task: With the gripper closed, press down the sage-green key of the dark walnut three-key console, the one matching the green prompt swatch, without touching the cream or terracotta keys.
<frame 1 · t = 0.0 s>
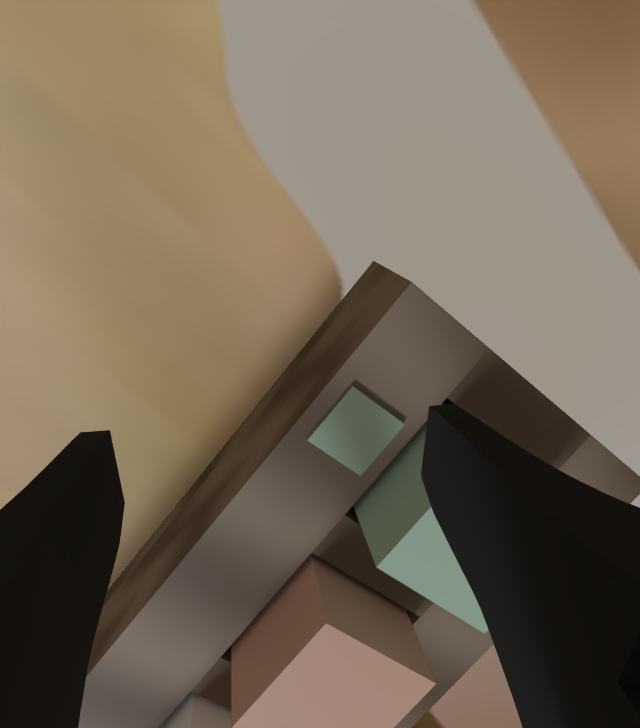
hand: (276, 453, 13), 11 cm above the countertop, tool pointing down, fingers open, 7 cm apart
key green: (460, 511, 19), point 6 cm above the countertop, slide at 0.0 cm
key terracotta: (326, 657, 21), point 6 cm above the countertop, slide at 0.0 cm
console: (305, 555, 26), on the countertop
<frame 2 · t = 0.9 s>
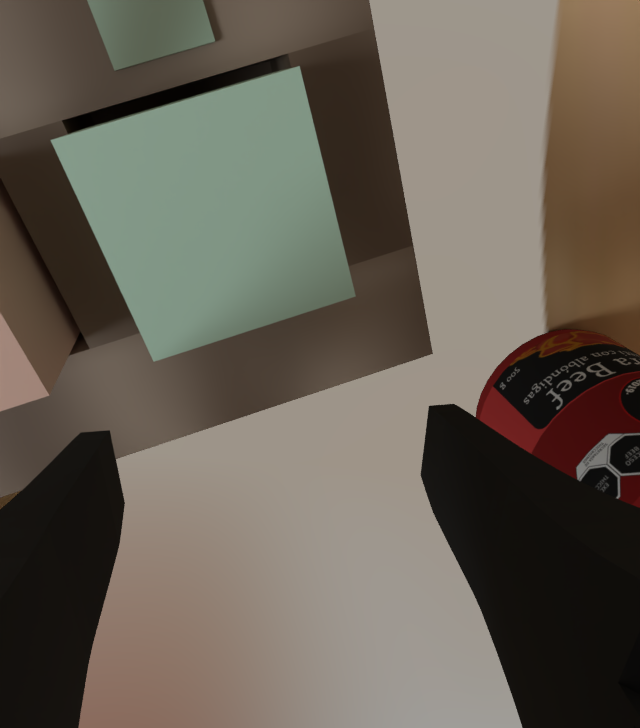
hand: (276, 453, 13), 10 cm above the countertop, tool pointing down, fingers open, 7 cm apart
key green: (217, 209, 14), point 6 cm above the countertop, slide at 0.0 cm
canned food: (543, 399, 26), on the countertop
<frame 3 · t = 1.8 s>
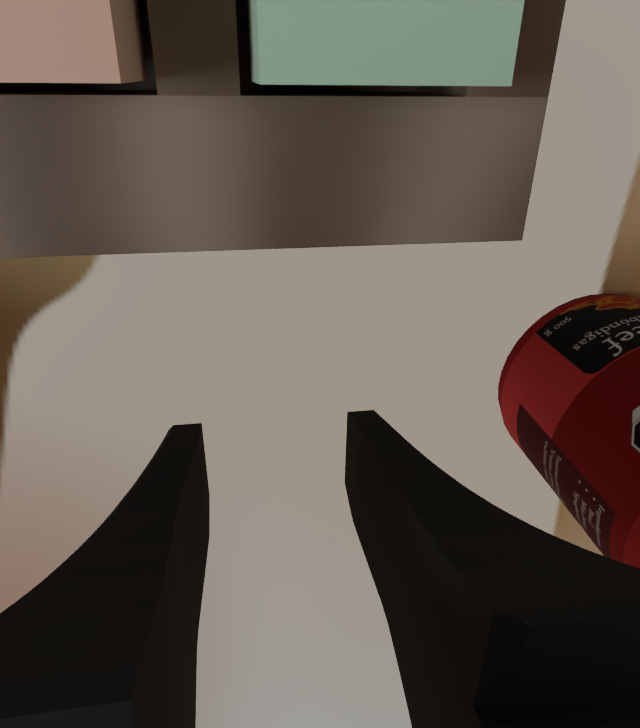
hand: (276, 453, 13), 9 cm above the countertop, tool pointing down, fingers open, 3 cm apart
canned food: (572, 369, 25), on the countertop
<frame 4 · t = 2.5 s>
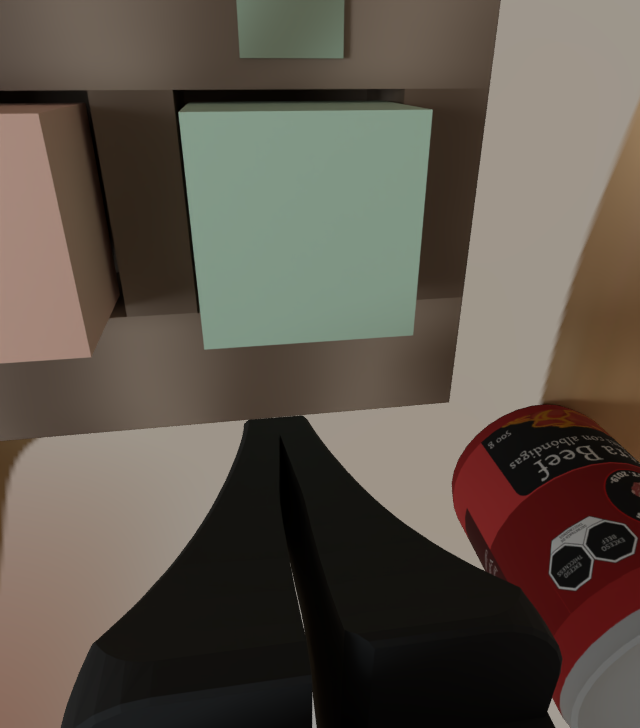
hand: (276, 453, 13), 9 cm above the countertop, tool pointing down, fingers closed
key green: (299, 216, 14), point 6 cm above the countertop, slide at 0.0 cm
canned food: (520, 465, 27), on the countertop
console: (46, 182, 18), on the countertop
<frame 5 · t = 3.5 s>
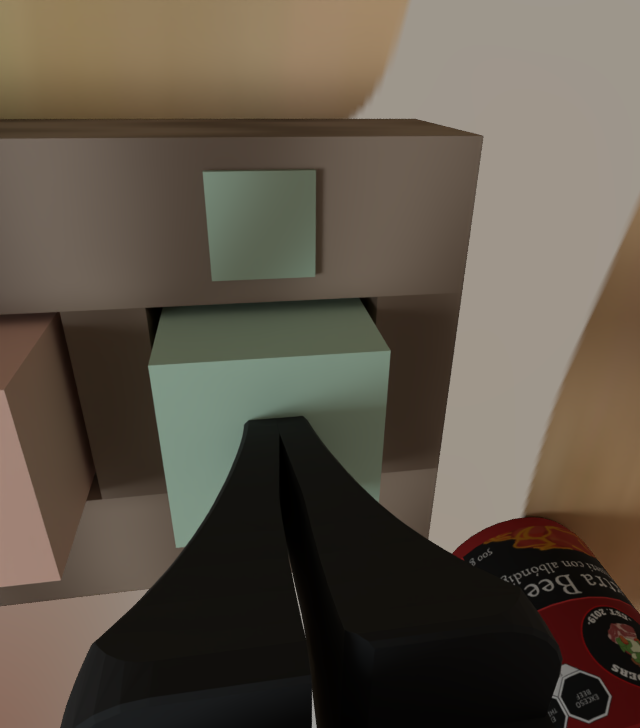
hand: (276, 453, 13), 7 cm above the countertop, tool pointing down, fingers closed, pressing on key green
key green: (269, 408, 14), point 5 cm above the countertop, slide at 0.6 cm, touching gripper
canned food: (502, 569, 27), on the countertop
console: (26, 337, 18), on the countertop
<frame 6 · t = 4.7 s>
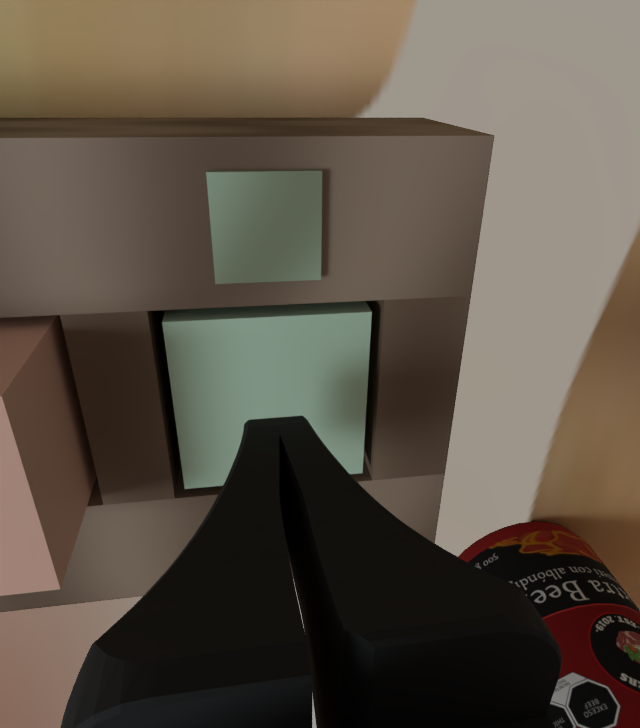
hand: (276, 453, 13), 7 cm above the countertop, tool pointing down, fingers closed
key green: (267, 369, 16), point 3 cm above the countertop, slide at 3.0 cm, touching console
canned food: (508, 574, 27), on the countertop
console: (27, 339, 18), on the countertop
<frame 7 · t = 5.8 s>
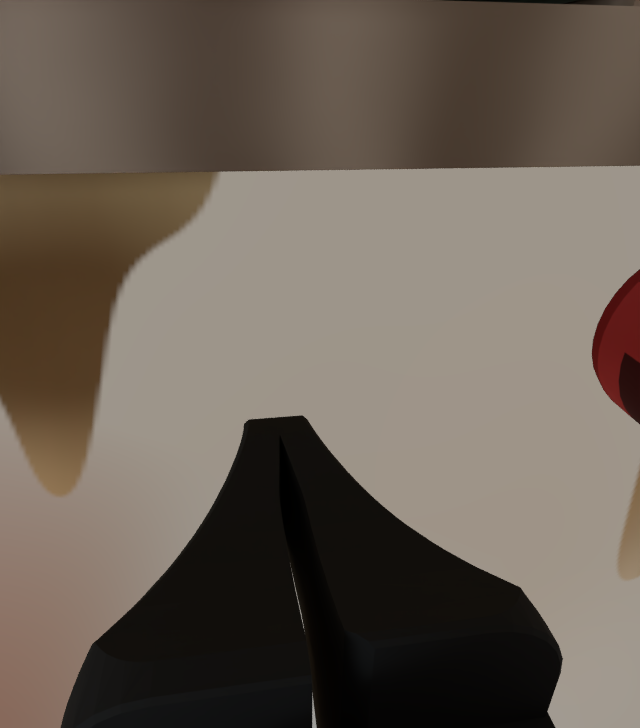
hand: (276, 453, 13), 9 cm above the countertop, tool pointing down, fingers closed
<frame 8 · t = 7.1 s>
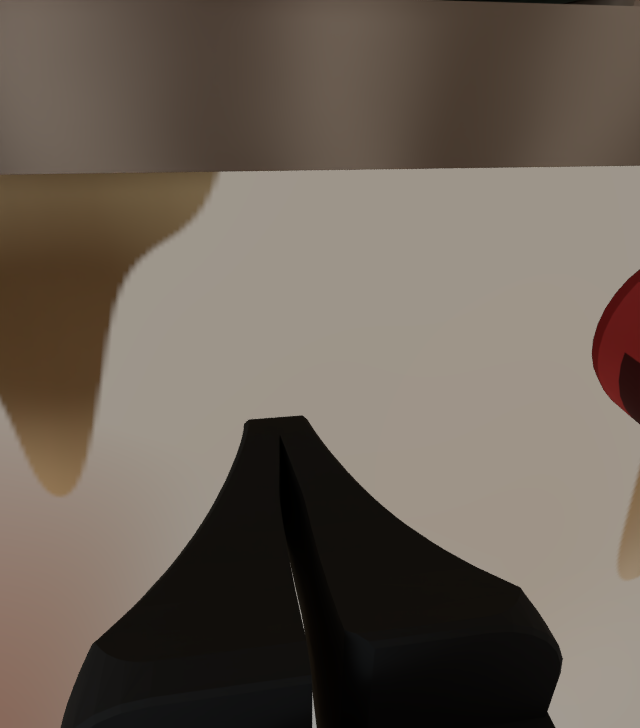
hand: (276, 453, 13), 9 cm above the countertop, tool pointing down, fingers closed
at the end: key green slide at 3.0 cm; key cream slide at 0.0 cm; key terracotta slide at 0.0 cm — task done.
